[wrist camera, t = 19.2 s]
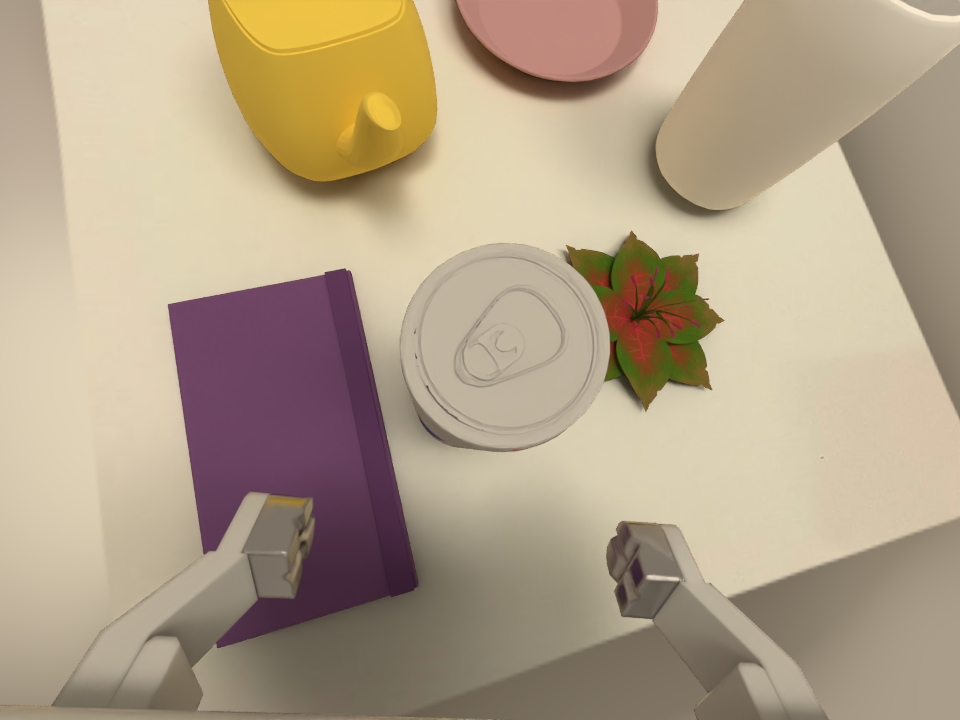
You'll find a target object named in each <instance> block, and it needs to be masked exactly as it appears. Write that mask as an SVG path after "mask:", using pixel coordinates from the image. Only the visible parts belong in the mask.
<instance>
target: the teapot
mask: <svg viewBox="0 0 960 720" xmlns="http://www.w3.org/2000/svg"><path fill="white" fill-rule="evenodd" d="M208 3H209V10H210V17H211V23H212V29H213V34H214V38H215V43H216V47H217V51H218V54H219V58H220V61H221V64H222V67H223V70H224V73H225V76H226V78H227V81H228V83H229V86H230V88H231V91H232V94H233V96H234V98H235V100H236V102H237V104H238V106H239V108H240V110H241V112H242V114H243V116H244V118H245V120H246V121H247V123H248V125H249V126H250V128H251V129H252V131H253V132H254V134H255V135H256V136H257V138H258V139H259V140H260V142H261V143H262V144H263V145H264V146H265V147H266V149H267V150H268V151H269V152H270V153H271V154H272V155H273V156H274V157H275V158H276V159H277V160H278V161H279V162H280V163H281V164H282V165H283V166H284V167H285V168H287V169H288V170H290V171H291V172H293V173H295V174H297V175H299V176H302V177H304V178H307V179H310V180H315V181H332V180H338V179H343V178H346V177H350V176H354V175H358V174H361V173H364V172H367V171H371V170H374V169H376V168H379V167H382V166H384V165H387V164H389V163H391V162H394V161H396V160H398V159H401V158H403V157H404V156H406V155H408V154H410V153H412V152H413V151H415V150H416V149H417V148H418V147H420V146H421V145H422V144H423V143H424V142H425V141H426V140H427V138H428V137H429V136H430V134H431V133H432V130H433V128H434V125H435V123H436V116H437V97H436V87H435V78H434V72H433V67H432V62H431V57H430V52H429V48H428V44H427V40H426V37H425V33H424V30H423V26H422V23H421V20H420V18H419V15H418V12H417V9H416V7H415V4H414V1H413V0H208Z"/></svg>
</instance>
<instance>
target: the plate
mask: <svg viewBox="0 0 960 720" xmlns="http://www.w3.org/2000/svg"><path fill="white" fill-rule="evenodd" d="M456 2H457V5H458V8H459V11H460V13H461V15H462V17H463V19H464V21H465V22H466V24H467V26H468V27H469V29H470V30H471V32H472V33H473V34H474V35H475V37H476V38H477V39H478V40H479V41H480V42H481V43H482V44H483V45H484V46H485V47H486V48H487V49H488V50H489V51H490V52H492V53H493V54H494V55H495V56H497V57H498V58H500V59H501V60H503V61H504V62H506V63H507V64H509V65H511V66H513V67H515V68H517V69H519V70H520V71H523V72H525V73H527V74H530V75H533V76H536V77H539V78H543V79H549V80H555V81H565V82H580V81H589V80H595V79H599V78H603V77H606V76H609V75H611V74H614V73H616V72H618V71H620V70H621V69H623V68H625V67H626V66H628V65H629V64H630V63H632V62H633V61H634V60H635V59H636V58H637V57H638V56H639V55H640V54H641V53H642V52H643V50H644V49H645V48H646V46H647V45H648V43H649V41H650V39H651V37H652V35H653V32H654V30H655V26H656V22H657V15H658V2H657V0H456Z"/></svg>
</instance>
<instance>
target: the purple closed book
mask: <svg viewBox="0 0 960 720" xmlns="http://www.w3.org/2000/svg"><path fill="white" fill-rule="evenodd" d="M168 309H169V316H170V323H171V330H172V337H173V344H174V351H175V358H176V365H177V372H178V379H179V386H180V393H181V400H182V406H183V413H184V420H185V427H186V434H187V441H188V448H189V455H190V462H191V469H192V476H193V483H194V490H195V497H196V504H197V511H198V518H199V525H200V532H201V539H202V546H203V553H204V555H205V554H206V553H207V552H209V551H216V550H217V548H218V546H219V544H220V542H221V540H222V539H223V537H224V535H225V533H226V531H227V529H228V527H229V525H230V523H231V522H232V520H233V518H234V516H235V514H236V512H237V510H238V508H239V506H240V505H241V503H242V501H243V499H244V497H245V496H246V495H247V494H248V493H249V492H261V493H272V494H281V495H291V496H301V497H311V498H313V503H314V507H313V510H312V513H311V514H312V515H313V516H314V517H315V534H314V538H313V543H312V547H311V550H310V553H309V555H308V556H307V557H306V558H305V559H304V560H303V561H302V565H303V574H302V577H301V580H300V583H299V586H298V589H297V592H296V595H295V598H294V599H291V598H258V600H257V601H256V602H255V603H254V604H253V605H252V606H251V607H250V609H249V610H248V611H247V612H246V613H245V614H244V615H243V616H242V617H241V618H240V619H239V620H238V621H237V622H236V623H235V624H234V625H233V626H232V627H231V628H230V629H229V630H228V631H227V632H226V633H225V634H224V635H223V636H222V637H221V638H220V639H219V640H218V641H217V642H216V643H217V648H221V647H224V646H227V645H231V644H234V643H237V642H240V641H244V640H247V639H250V638H253V637H257V636H260V635H263V634H266V633H270V632H273V631H276V630H279V629H283V628H286V627H289V626H292V625H296V624H299V623H302V622H305V621H309V620H312V619H315V618H318V617H322V616H325V615H328V614H331V613H335V612H338V611H341V610H344V609H348V608H351V607H354V606H357V605H361V604H364V603H367V602H370V601H374V600H377V599H380V598H383V597H387V596H390V595H391V597H393V596H397V595H400V594H403V593H406V592H410V591H413V590H414V588H416V587H418V580H417V575H416V570H415V566H414V561H413V556H412V552H411V547H410V543H409V538H408V533H407V529H406V524H405V519H404V515H403V510H402V505H401V501H400V496H399V492H398V487H397V482H396V478H395V473H394V468H393V464H392V459H391V454H390V450H389V445H388V441H387V436H386V431H385V427H384V422H383V417H382V413H381V408H380V403H379V399H378V394H377V390H376V385H375V380H374V376H373V371H372V366H371V362H370V357H369V352H368V348H367V343H366V339H365V334H364V329H363V325H362V320H361V315H360V311H359V306H358V301H357V297H356V292H355V288H354V283H353V278H352V274H351V272H350V270H348V271H346V269H340V270H335V271H330V272H325V275H322V276H316V277H311V278H306V279H300V280H295V281H290V282H284V283H279V284H274V285H268V286H263V287H258V288H252V289H247V290H242V291H236V292H231V293H226V294H220V295H215V296H210V297H204V298H199V299H194V300H188V301H183V302H178V303H172V304H168Z"/></svg>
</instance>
